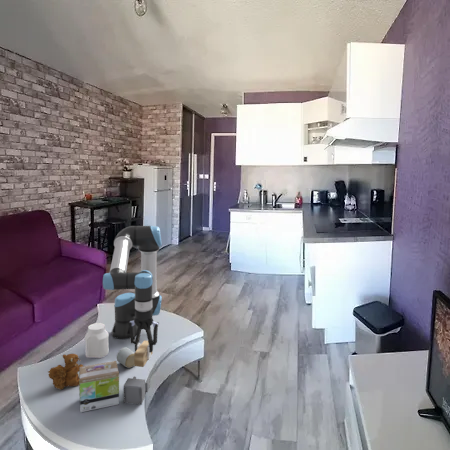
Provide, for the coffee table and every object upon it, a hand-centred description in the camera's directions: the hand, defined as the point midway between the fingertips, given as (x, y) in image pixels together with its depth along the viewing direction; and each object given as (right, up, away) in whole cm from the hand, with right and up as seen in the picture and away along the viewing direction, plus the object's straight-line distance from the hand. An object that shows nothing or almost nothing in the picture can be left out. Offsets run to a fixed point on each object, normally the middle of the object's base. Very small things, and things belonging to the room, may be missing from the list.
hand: (144, 357), depth 157 cm
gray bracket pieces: (-1, -13, -7) cm, 15 cm away
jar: (-30, -7, +25) cm, 40 cm away
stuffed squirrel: (-34, -12, -1) cm, 36 cm away
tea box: (-16, -14, -12) cm, 24 cm away
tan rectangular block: (0, -1, 0) cm, 1 cm away
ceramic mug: (-11, -9, +17) cm, 22 cm away
